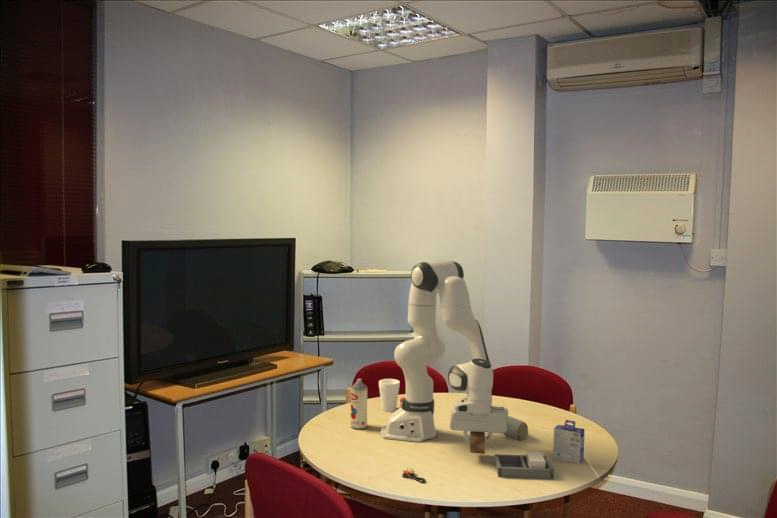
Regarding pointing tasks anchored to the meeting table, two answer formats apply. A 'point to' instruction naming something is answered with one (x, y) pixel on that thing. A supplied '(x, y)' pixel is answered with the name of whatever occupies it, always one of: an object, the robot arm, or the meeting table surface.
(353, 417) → the aerosol can
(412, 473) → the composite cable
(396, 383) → the foam cup
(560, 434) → the ink cartridge box
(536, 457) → the off-white block
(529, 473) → the holder
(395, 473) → the meeting table surface
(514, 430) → the ceramic mug
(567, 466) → the meeting table surface
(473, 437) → the walnut block
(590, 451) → the meeting table surface
